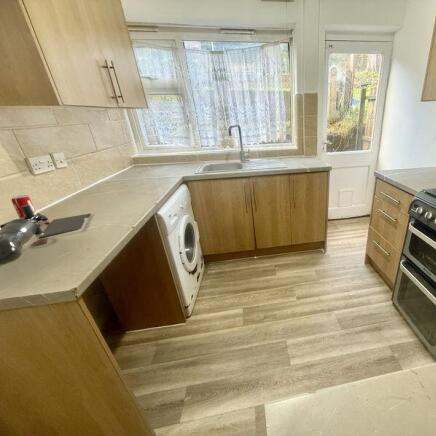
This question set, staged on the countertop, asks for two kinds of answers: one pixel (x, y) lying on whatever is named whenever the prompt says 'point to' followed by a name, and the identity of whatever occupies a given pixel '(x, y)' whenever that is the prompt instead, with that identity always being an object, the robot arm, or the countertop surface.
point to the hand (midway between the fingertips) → (34, 216)
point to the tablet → (65, 225)
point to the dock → (40, 242)
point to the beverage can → (22, 204)
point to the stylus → (29, 213)
